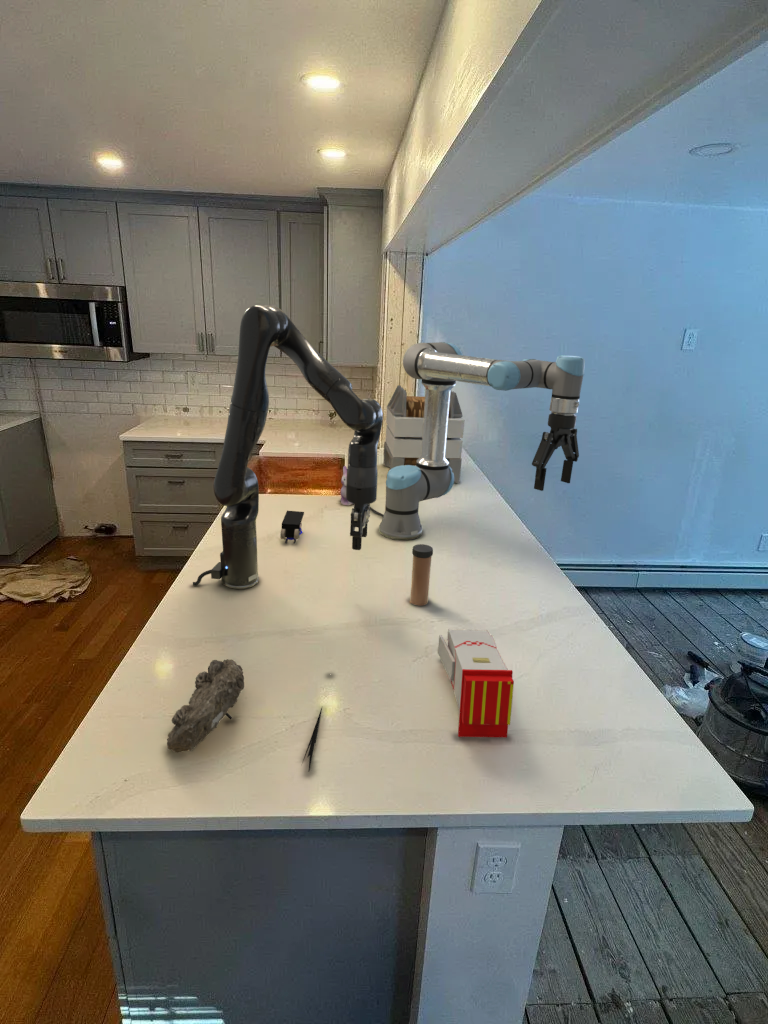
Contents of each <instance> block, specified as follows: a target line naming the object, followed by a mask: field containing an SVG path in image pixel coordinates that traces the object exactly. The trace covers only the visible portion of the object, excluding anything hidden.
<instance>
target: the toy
mask: <svg viewBox="0 0 768 1024" xmlns="http://www.w3.org/2000/svg"><path fill="white" fill-rule="evenodd" d="M446 640H447V643H446V641H445V639H444V636H443V635H442V634H439V637H438V646H437V656H438V657H439V659H440V661H441V663H442V666H443V668H444V670H445V672H446V674H447V677H448V679H449V681H450V684H451V687H452V690H453V693H454V697H455V701H456V705H457V708H458V711H459V714H458V715H459V716H458V730H457V731H458V732H457V737H458V738H508V731H509V726H510V725H511V717H512V707H513V697H514V696H513V695H514V684H515V680H514V679H513V673H514V671H513V670H512V669H508V667H507V665H506V662H505V661H504V659H503V658H502V655H501V653H500V651H499V649H498V647H497V643H496V639H495V637H494V635H493V634H491V632H490V631H489V629H467V628H466V629H465V628H463V629H461V628H460V629H459V628H448V630H447V639H446Z"/></svg>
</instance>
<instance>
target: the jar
mask: <svg viewBox="0 0 768 1024" xmlns="http://www.w3.org/2000/svg"><path fill="white" fill-rule="evenodd" d="M432 556H433V555H432ZM432 556H431V557H429V558H419V557H416V556H414V555H413V554H412V566H411V568H412V569H411V579H410V580H411V583H410V595H409V602H410V603H411V604H412V605H414V606H420V607H421V606H425V605H427V604H428V603H429V595H430V582H431V568H432Z"/></svg>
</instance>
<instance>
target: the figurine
mask: <svg viewBox="0 0 768 1024" xmlns="http://www.w3.org/2000/svg"><path fill="white" fill-rule="evenodd" d="M347 468H348V467H347V466H346V465H343V467H342V477H341V480H340V482H341V484H342V486H341V488H340V500H339V501H340V503H341V505H345V506H351V505H354V504H353V503H351V502H349V501H347V499H346V481H347Z"/></svg>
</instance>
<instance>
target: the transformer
mask: <svg viewBox="0 0 768 1024" xmlns="http://www.w3.org/2000/svg"><path fill="white" fill-rule="evenodd" d="M407 394H408V393H407V390H406V389H404V388H403V387H402V385H399V384H398V385H397V386H396V388H395V390H394V392H393V394H392V395H391V398H390V400H389V402H388V404H387V405H386V413H385V414H386V415H385V423H386V428H385V438H384V442H383V466H384V467H388V468H389V470H390V469H392V468H394V467H396V466H401V465H404V466H405V465H413V466H416V461H417V459H418V458H420V457H421V449H422V434H423V419H424V404H425V396H415V395H414V396H413V395H412V396H411V395H407ZM464 429H465V419H464V418H463V411H462V408H461V405H460V402H459V398H458V395H457V392H455V391H453V390H451V392H450V404H449V416H448V428H447V441H446V453H445V458H446V459H447V461H448V462H449V466H450V467H451V469H452V473H454V484H455V483H456V484H459V483H461V472H462V461H463V460H462V453H463V442H464V441H463V440H462V439H463V438H464V431H465V430H464Z"/></svg>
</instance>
